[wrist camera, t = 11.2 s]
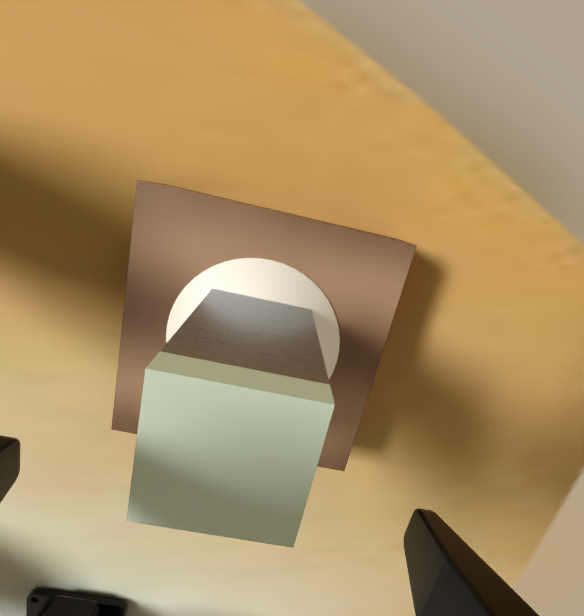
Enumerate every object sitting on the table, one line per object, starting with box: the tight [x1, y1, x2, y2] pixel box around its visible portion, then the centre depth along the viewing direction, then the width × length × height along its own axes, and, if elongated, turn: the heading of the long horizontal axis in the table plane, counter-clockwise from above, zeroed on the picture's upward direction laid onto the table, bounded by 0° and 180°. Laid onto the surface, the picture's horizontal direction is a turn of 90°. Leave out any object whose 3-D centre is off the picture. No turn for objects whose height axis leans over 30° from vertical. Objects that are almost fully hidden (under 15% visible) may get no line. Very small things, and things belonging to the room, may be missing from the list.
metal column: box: [126, 288, 335, 547], centre depth 13 cm, size 4×4×8 cm
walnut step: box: [111, 180, 416, 471], centre depth 18 cm, size 12×12×3 cm
